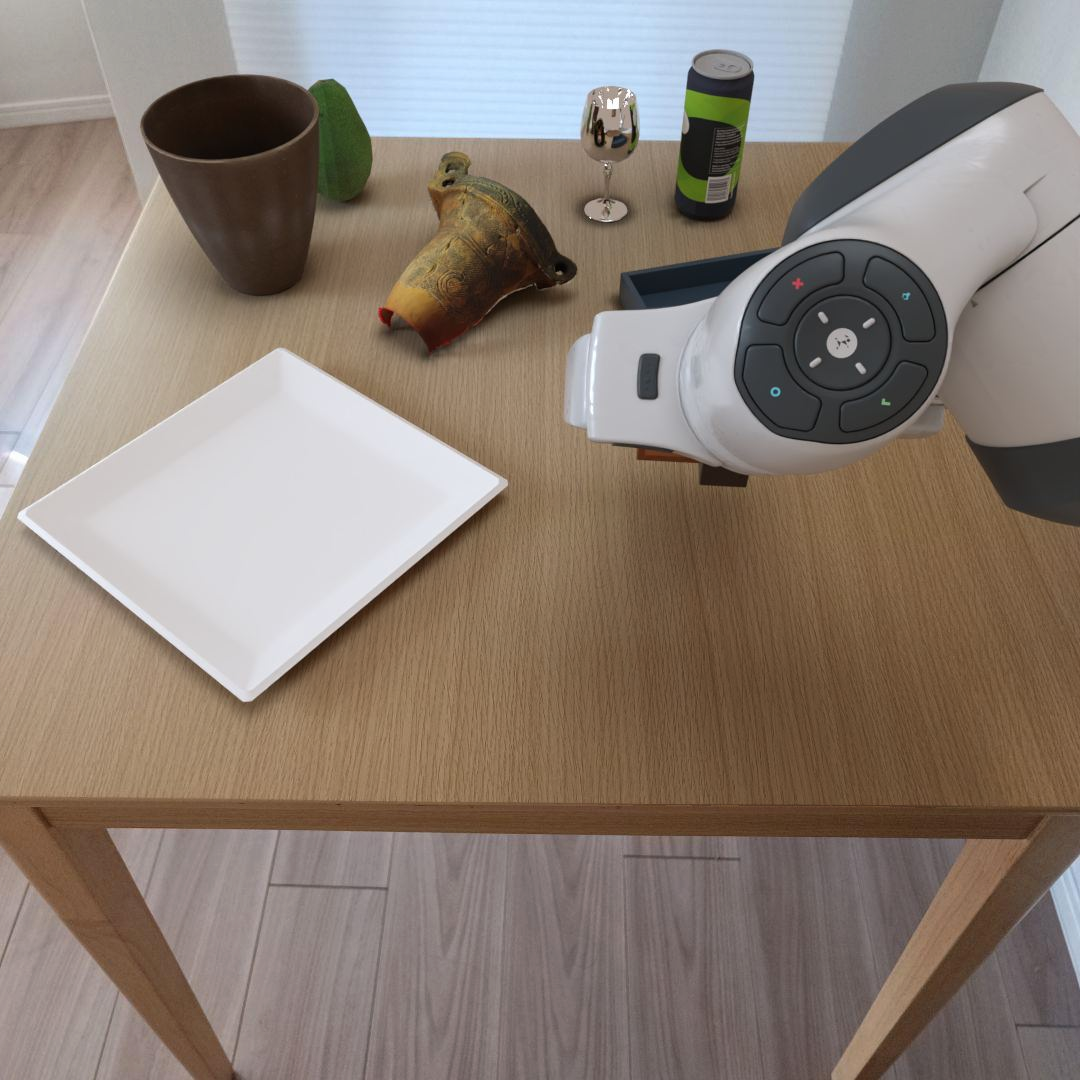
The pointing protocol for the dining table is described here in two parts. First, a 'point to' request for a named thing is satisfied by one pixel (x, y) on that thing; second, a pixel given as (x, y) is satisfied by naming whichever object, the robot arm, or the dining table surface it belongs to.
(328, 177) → the fruit
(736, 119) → the beverage can
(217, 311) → the dining table surface
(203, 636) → the plate
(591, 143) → the wineglass
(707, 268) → the tray
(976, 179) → the robot arm
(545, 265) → the pot
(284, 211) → the plant pot
